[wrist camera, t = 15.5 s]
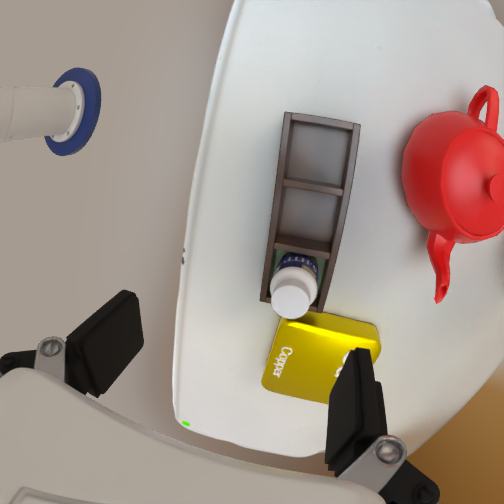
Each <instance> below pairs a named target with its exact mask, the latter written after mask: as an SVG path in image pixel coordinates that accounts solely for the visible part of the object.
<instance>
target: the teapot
mask: <svg viewBox="0 0 504 504" xmlns="http://www.w3.org/2000/svg"><path fill="white" fill-rule="evenodd" d="M487 101H488V102H487ZM486 102H487V113H486V120H485V123H484V122H483V121H481V120H479V119H478V118H479V114H480V111H481V109H482V107H483V106H484V104H485V103H486ZM498 115H499V97H498V92H497V91H496V90H495V89H494V88H492V87H489V86H487V85H485V86H483V87H482V88H480V89H479V90H478V92H477V93H476V94H475V95H474V97H473V99H472V101H471V102H470V104H469V108H468V112H467V115H466V114H464V113H461V112H458V111H447V112H441V113H435V114H431V115H430V116H429V117H427V118H426V119H425V120H424V121H422V122H421V123H420V124H419V125H418V126H416V127H415V128H414V130H413V132H412V135H411V137H410V139H409V141H408V143H407V145H406V147H405V149H404V151H403V162H402V172H401V179H402V183H403V188H404V192H405V196H406V201H407V204H408V206H409V208H410V209H411V211H412V212H413V214H414V215H415V217H416V219H417V220H418V222H419V224H420V225H422V226H423V227H425V228H426V229H428V230H429V234H428V242H427V250H428V254H429V257H430V261H431V264H432V266H433V269H434V271H435V273H436V292H435V298H434V299H435V302H436V304H437V303H439V302H441V301H442V299H443V298H444V297H445V295H446V293H447V290H448V287H449V283H450V266H449V261H450V253H451V251H452V249H453V247H454V245H455V242H457V243H462V244H466V243H475V242H479V241H482V240H485V239H488V238H491V237H494V236H497V235H498V234H499V233H500V232H501V231H502V230H503V229H504V140H503V139H502V138H501V137H500V136H499V135H498V134H497V133H496V131H497V124H498Z"/></svg>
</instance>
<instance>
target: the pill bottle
mask: <svg viewBox="0 0 504 504" xmlns="http://www.w3.org/2000/svg"><path fill="white" fill-rule="evenodd" d="M318 275H319V266H318V263H317V261H316V259H315V258H314V256H309V255H303V254H298V253H293V252H287V253H286V254H284V255H283V256H282V258H281V259H280V261H279V263H278V266H277V268H276V270H275V273H274V275H273V278H272V280H271V284H270V293H271V296H272V297H271V305H272V308H273V309H274V311H275V312H276V313H277V314H278V315H280V316H281V317H284V318H287V319H295V318H299V317H301V316H303V315H304V314H305V313H306V312H307V310H308V309H309V306H310V305H311V304H312V303H313V301H314V300H315V298H316V295H317V289H318Z"/></svg>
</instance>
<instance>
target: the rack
mask: <svg viewBox="0 0 504 504" xmlns="http://www.w3.org/2000/svg"><path fill="white" fill-rule="evenodd" d="M360 127H361V125H360V124H356V123H352V122H347V121H342V120H337V119H331V118H326V117H320V116H313V115H307V114H300V113H291V112H284V119H283V127H282V136H281V144H280V152H279V160H278V168H277V176H276V183H275V191H274V199H273V206H272V214H271V221H270V229H269V236H268V243H267V251H266V258H265V265H264V272H263V279H262V286H261V293H260V301H262V302H266V303H271V297H272V296H271V293H270V284H271V280H272V278H273V275H274V273H275V270H276V268H277V266H278V263H279V261H280V259H281V258H282V256H283V255H284V254H286V253H287V252H293V253H298V254H303V255H309V256H314V258H315V259H316V261H317V263H318V266H319V275H318V289H317V295H316V298H315V300H314V301H313V303H312V304H311V305H310V306H309V309H308V310H307V311H310V312H316V313H321V314H322V312H323V308H324V305H325V301H326V298H327V294H328V290H329V287H330V283H331V279H332V275H333V271H334V267H335V263H336V259H337V255H338V250H339V246H340V242H341V237H342V233H343V228H344V223H345V218H346V213H347V208H348V203H349V198H350V193H351V187H352V181H353V175H354V169H355V163H356V156H357V150H358V142H359V135H360Z"/></svg>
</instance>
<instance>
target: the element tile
mask: <svg viewBox="0 0 504 504" xmlns="http://www.w3.org/2000/svg"><path fill="white" fill-rule="evenodd" d="M356 347H359V348H366V349H370V352H371V358H372V364H374V363H375V361H376V359H377V358H378V356H379V354H380V352H381V342H380V338H379V333H378V330H377V328H376V327H375V326H373V325H372V324H370V323H365V322H361V321H357V320H352V319H348V318H344V317H340V316H336V315H332V314H328V313H324V312H322V314H321V313H316V312H310V311H307V312H306V313H305V314H304V315H303V316H301V317H299V318H295V319H287V318H284V317H281V318H280V321H279V325H278V328H277V331H276V335H275V338H274V341H273V344H272V348H271V351H270V354H269V357H268V360H267V363H266V367H265V370H264V373H263V377H262V381H261V383H262V386H263V387H264V388H265V389H267V390H269V391H272V392H276V393H279V394H283V395H288V396H292V397H296V398H301V399H305V400H310V401H315V402H320V403H325V404H329V395H330V392H331V390H332V388H333V386H334V384H335V382H336V380H337V378H338V376H339V374H340V371H341V369H342V367H343V365H344V363H345V361H346V359H347V357H348V354H349V352H350V351H351V350H355V348H356Z"/></svg>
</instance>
